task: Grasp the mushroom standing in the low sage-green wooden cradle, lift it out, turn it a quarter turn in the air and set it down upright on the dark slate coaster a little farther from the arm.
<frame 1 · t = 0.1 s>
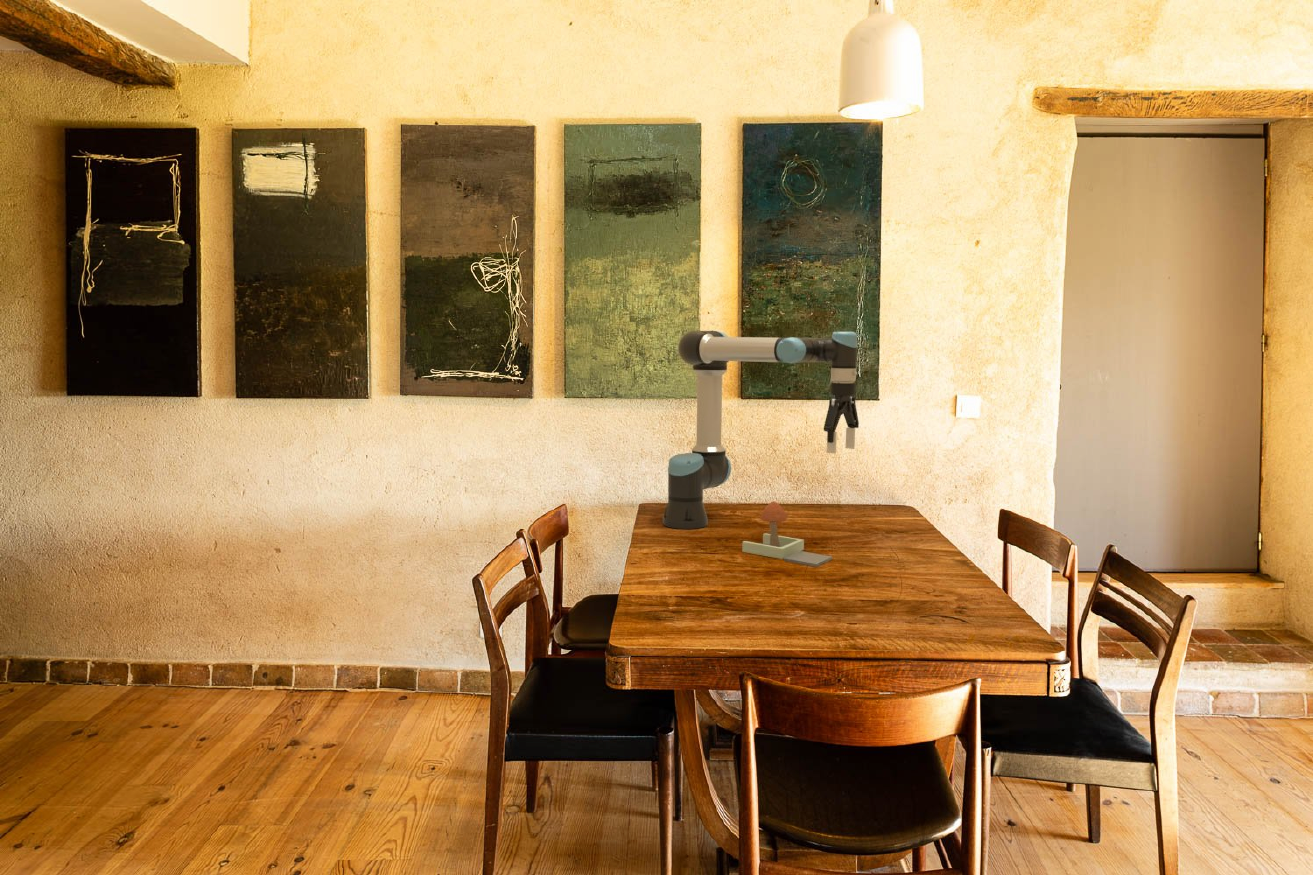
hand: (840, 450, 255), 28 cm above the table, fingers open, 13 cm apart
cradle: (772, 550, 244), on the table
mushroom: (772, 551, 244), on the table
coaster: (808, 560, 234), on the table
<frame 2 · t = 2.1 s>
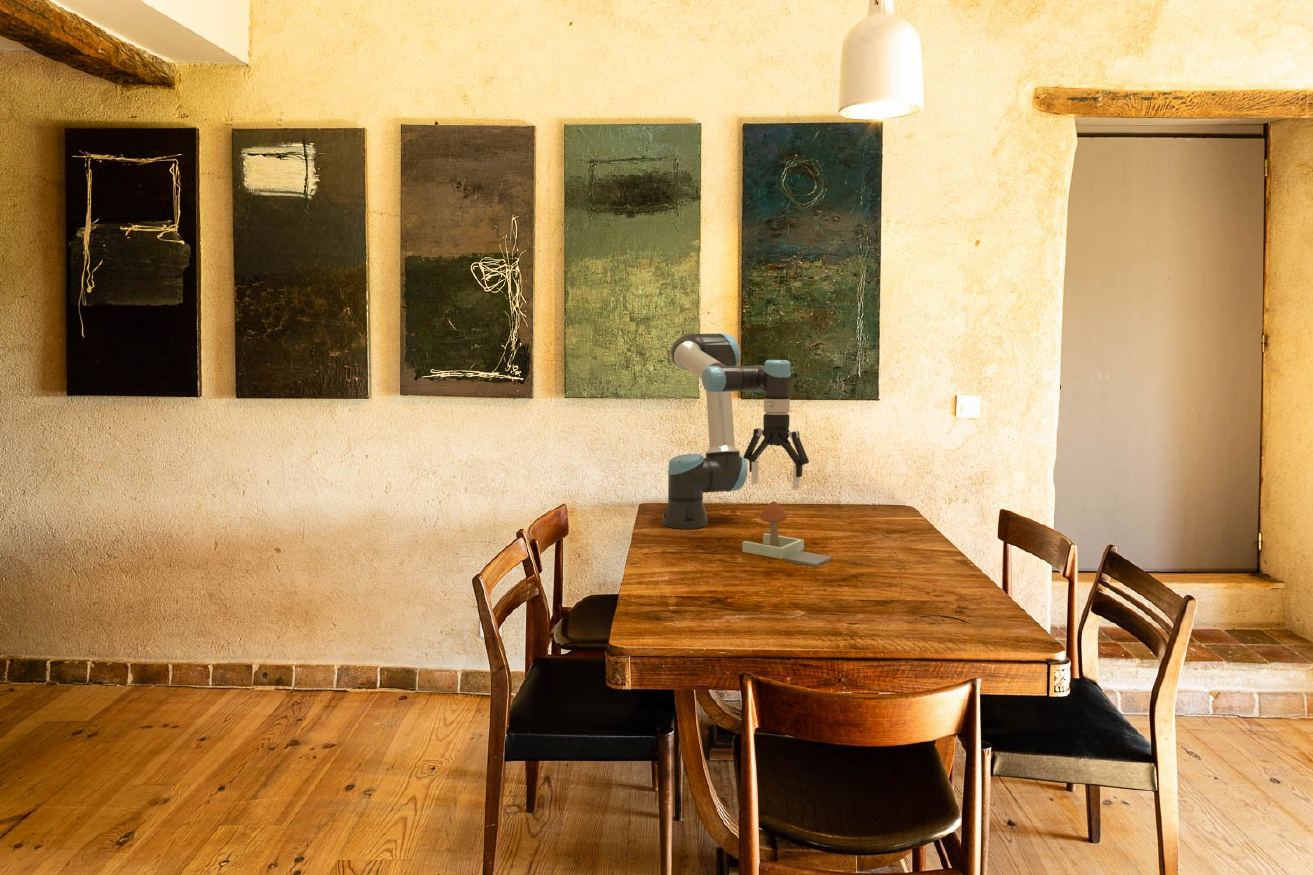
hand: (775, 485, 241), 20 cm above the table, fingers open, 13 cm apart
nothing on the table moved.
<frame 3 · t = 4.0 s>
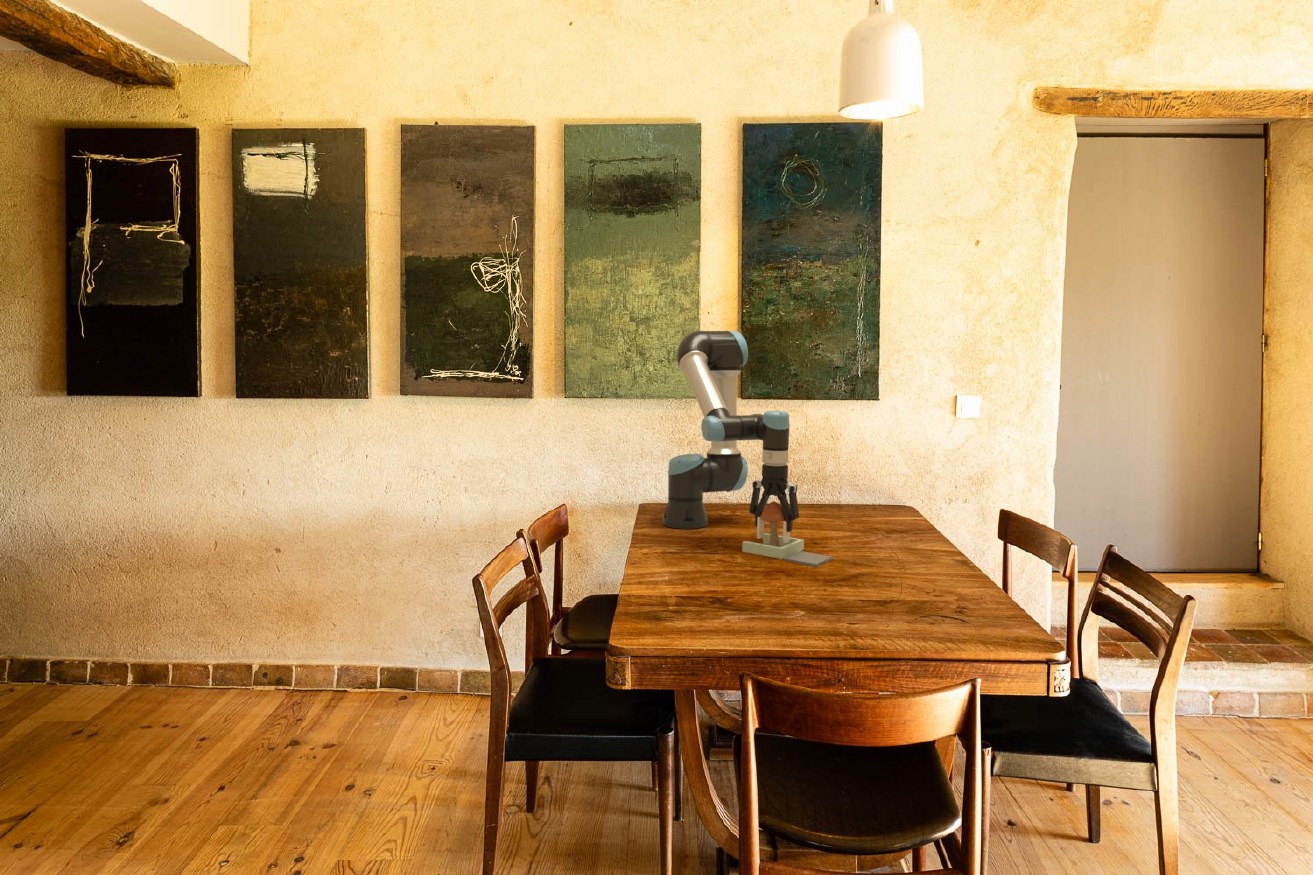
hand: (773, 539, 243), 3 cm above the table, fingers closed on mushroom, 8 cm apart
mushroom: (772, 551, 244), on the table, touching gripper
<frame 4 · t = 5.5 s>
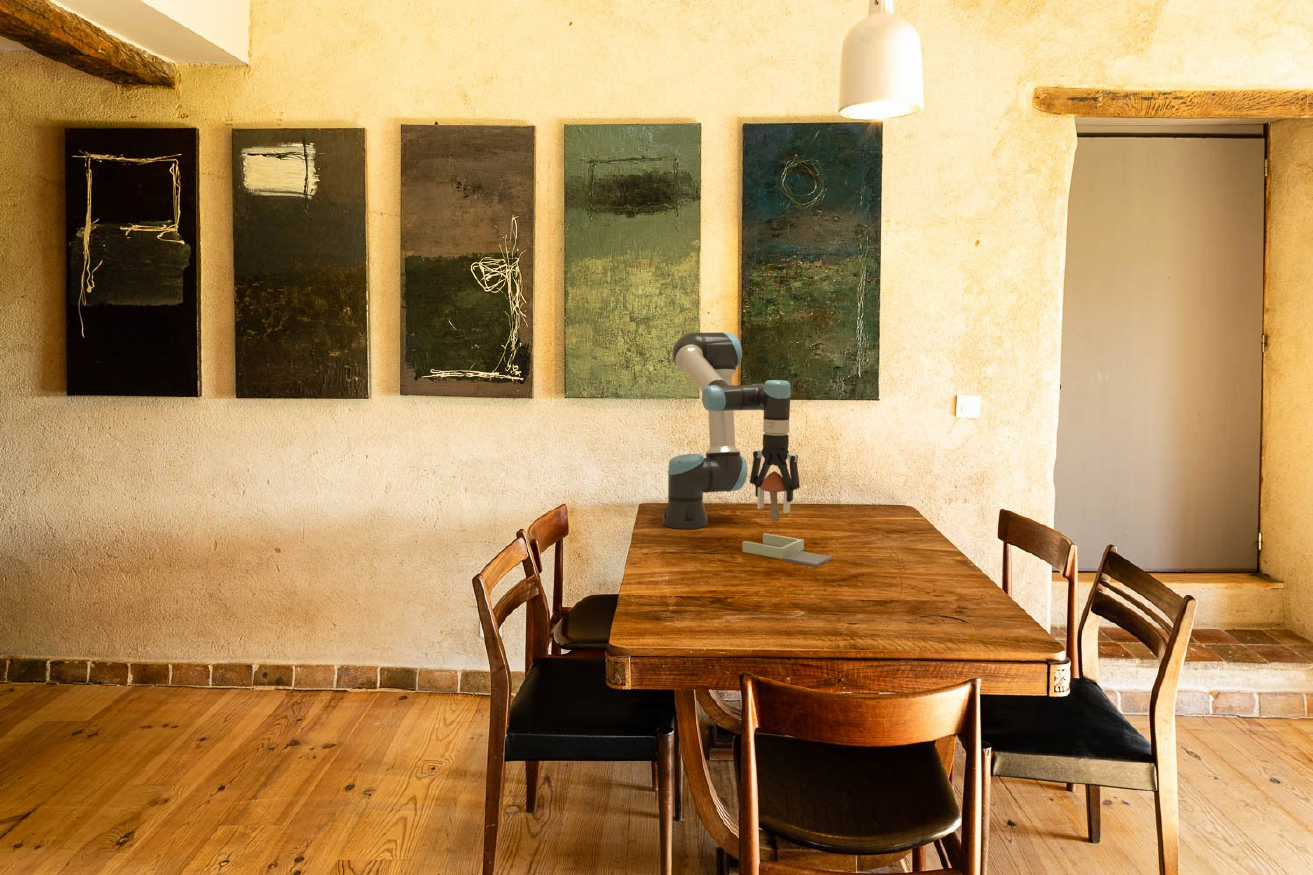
hand: (773, 510, 243), 12 cm above the table, fingers closed on mushroom, 8 cm apart
mushroom: (773, 521, 243), point 9 cm above the table, touching gripper
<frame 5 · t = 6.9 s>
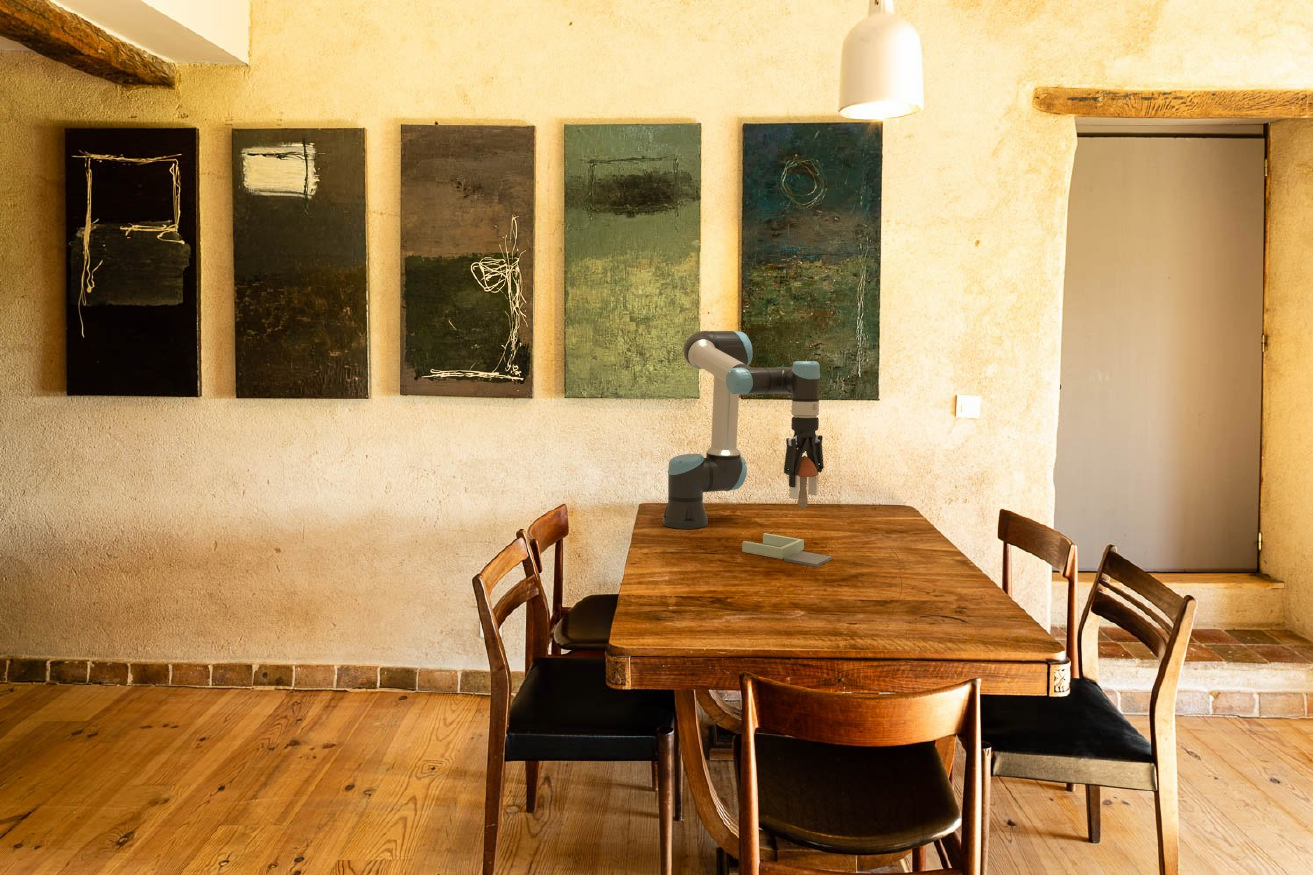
hand: (803, 496, 233), 18 cm above the table, fingers closed on mushroom, 8 cm apart
mushroom: (803, 508, 233), point 15 cm above the table, touching gripper
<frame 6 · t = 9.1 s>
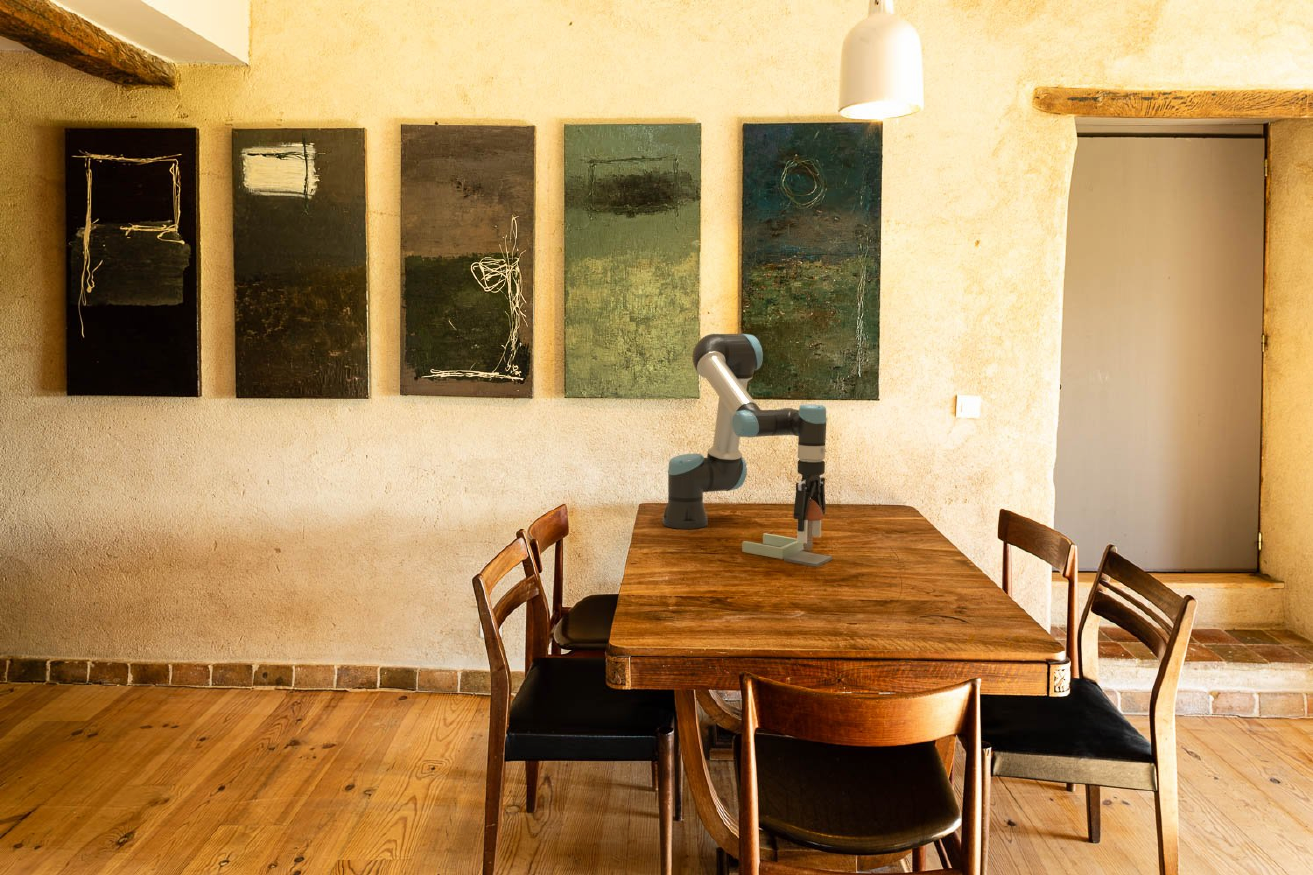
hand: (808, 539, 233), 6 cm above the table, fingers closed on mushroom, 8 cm apart
mushroom: (808, 551, 233), point 3 cm above the table, touching gripper
when the fingers open (5 cm above the table, at t = 9.8 s): mushroom drops 1 cm, resting on coaster.
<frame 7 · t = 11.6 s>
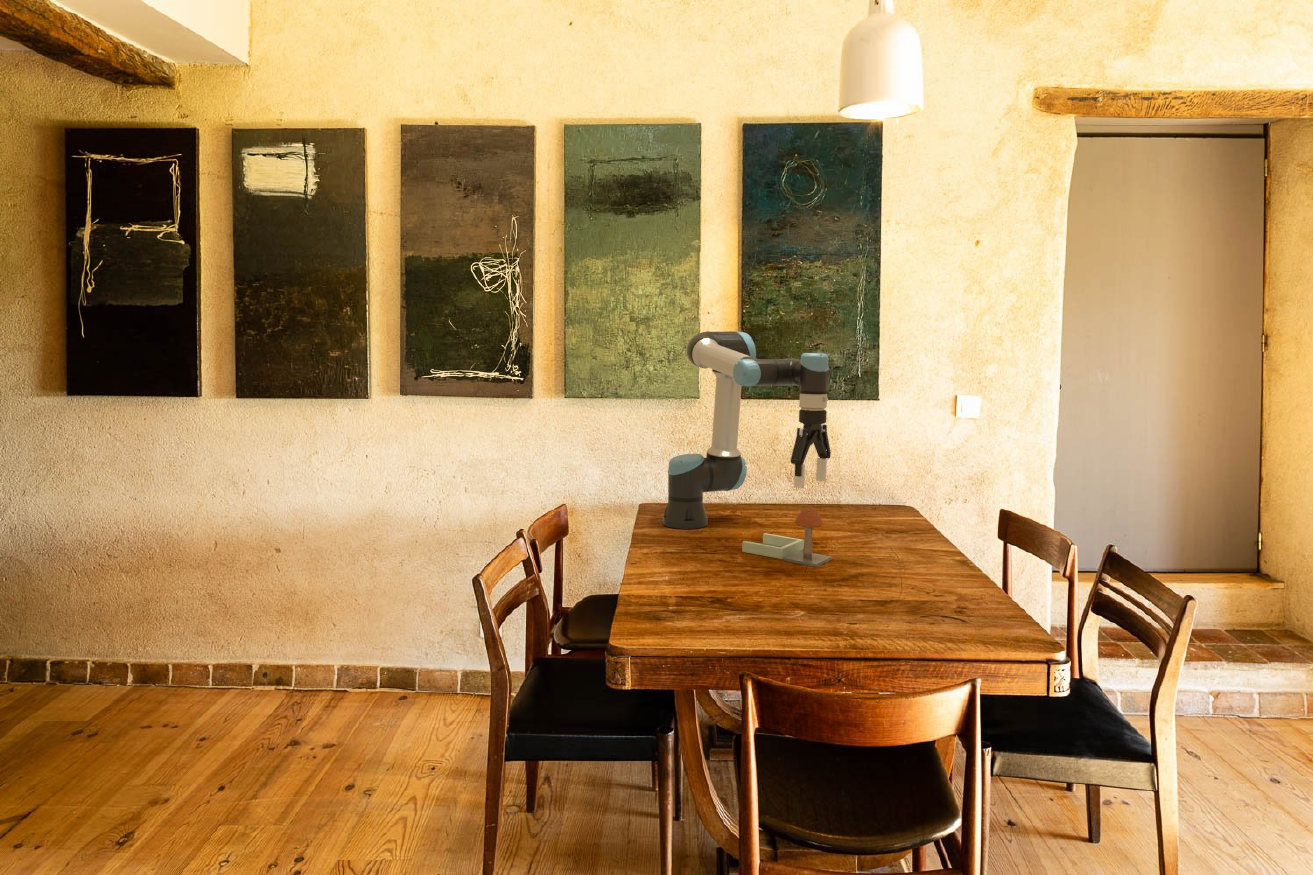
hand: (810, 484, 231), 22 cm above the table, fingers open, 13 cm apart
mushroom: (808, 557, 234), point 1 cm above the table, touching coaster
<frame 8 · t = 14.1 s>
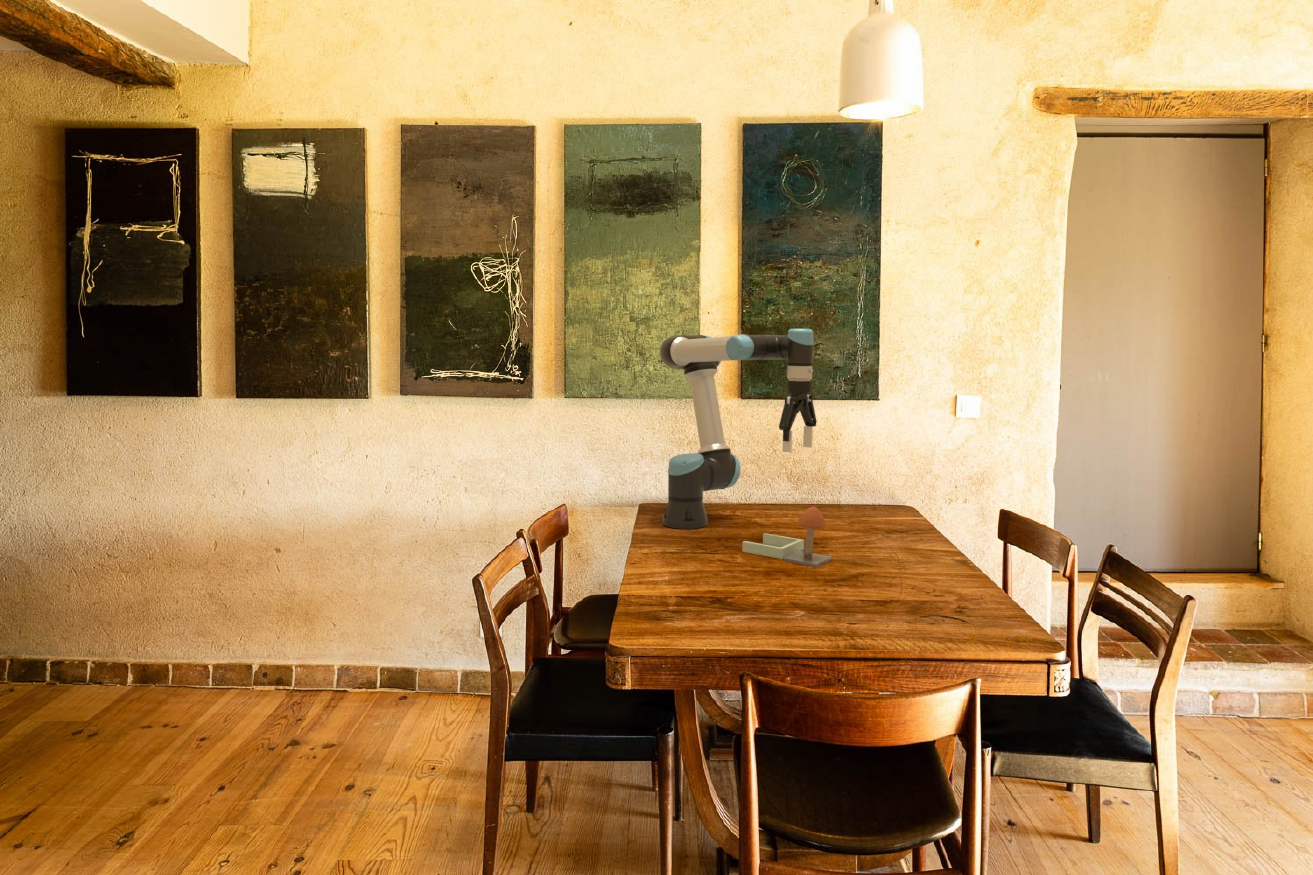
hand: (797, 449, 251), 29 cm above the table, fingers open, 13 cm apart
nothing on the table moved.
at the end: mushroom inside the target area on the coaster (0.3 cm from its centre), point 0.7 cm above the coaster's base; mushroom tilted 4°; the gripper is holding nothing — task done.
